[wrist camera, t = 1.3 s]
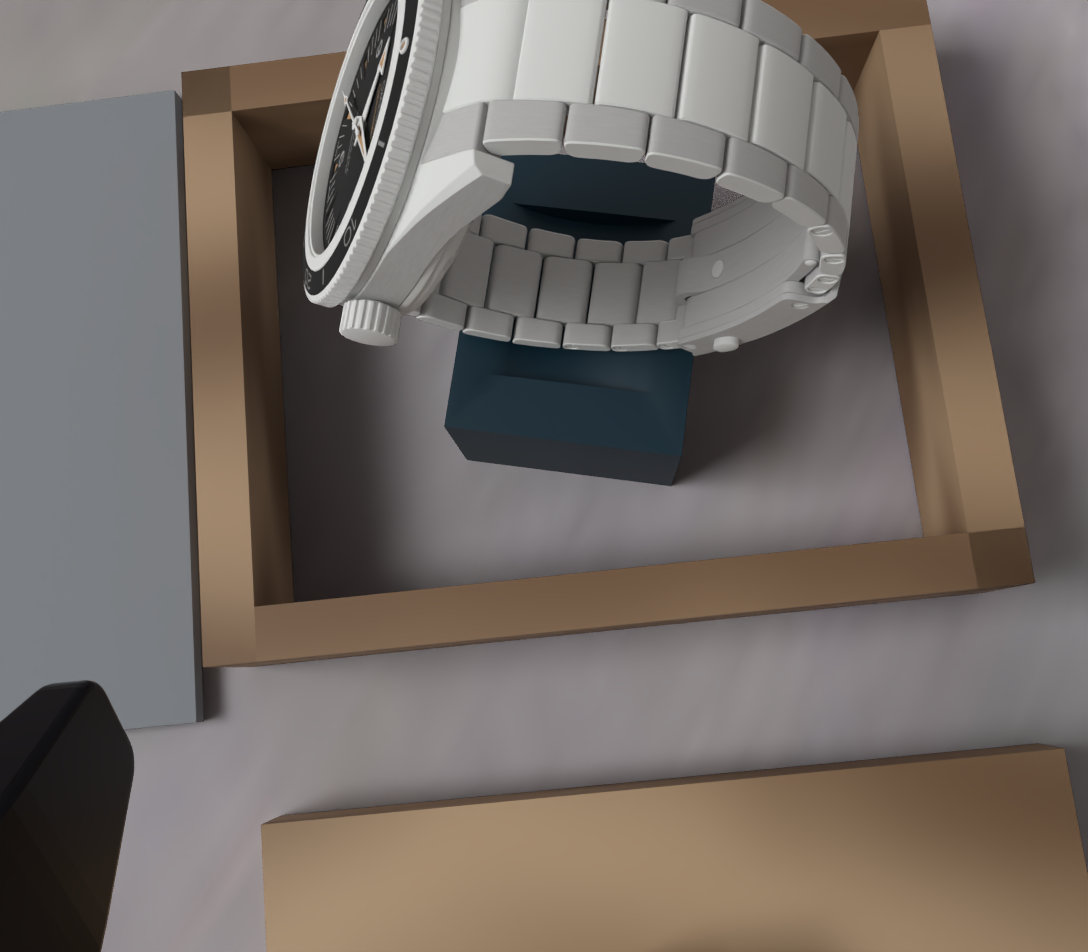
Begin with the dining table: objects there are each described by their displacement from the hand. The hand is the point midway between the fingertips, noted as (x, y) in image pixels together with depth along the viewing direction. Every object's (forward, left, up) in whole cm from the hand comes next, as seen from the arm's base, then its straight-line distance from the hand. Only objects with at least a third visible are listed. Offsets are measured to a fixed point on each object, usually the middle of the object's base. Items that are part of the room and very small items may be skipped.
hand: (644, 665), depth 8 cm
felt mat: (+7, +15, -13) cm, 20 cm away
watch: (+7, 0, -13) cm, 14 cm away
